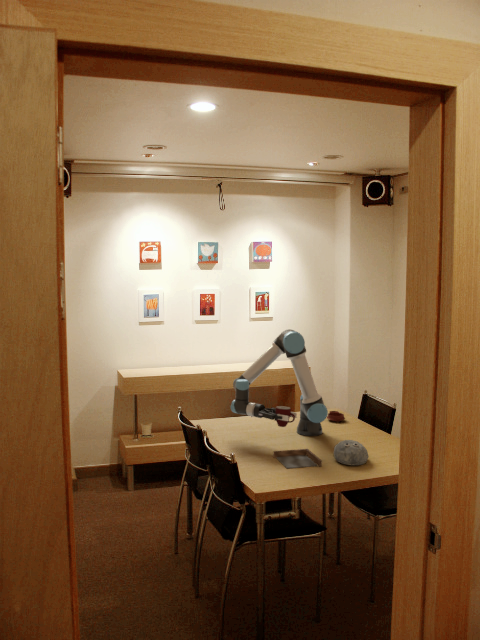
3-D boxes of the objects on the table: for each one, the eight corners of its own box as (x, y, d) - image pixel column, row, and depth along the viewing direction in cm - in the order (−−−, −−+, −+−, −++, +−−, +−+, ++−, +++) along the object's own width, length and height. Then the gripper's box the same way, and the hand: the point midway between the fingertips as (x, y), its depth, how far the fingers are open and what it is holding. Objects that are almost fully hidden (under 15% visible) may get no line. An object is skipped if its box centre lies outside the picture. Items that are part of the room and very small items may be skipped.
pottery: (327, 423, 351) (327, 416, 350) (324, 415, 371) (325, 408, 370) (346, 423, 350) (346, 416, 350) (342, 415, 370) (342, 409, 370)
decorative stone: (367, 455, 289) (368, 436, 288) (369, 469, 268) (369, 449, 268) (333, 453, 292) (334, 434, 291) (332, 466, 272) (333, 446, 271)
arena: (307, 454, 289) (307, 448, 289) (321, 466, 271) (321, 460, 271) (273, 456, 284) (273, 451, 284) (285, 469, 266) (285, 463, 266)
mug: (294, 425, 298) (295, 407, 298) (293, 429, 290) (295, 410, 290) (274, 423, 299) (276, 405, 299) (273, 427, 291) (275, 408, 291)
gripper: (266, 413, 313) (301, 419, 300) (245, 420, 296) (282, 428, 283) (266, 400, 313) (301, 406, 300) (245, 407, 296) (282, 413, 283)
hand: (292, 416), depth 292 cm, fingers closed on mug, 8 cm apart
